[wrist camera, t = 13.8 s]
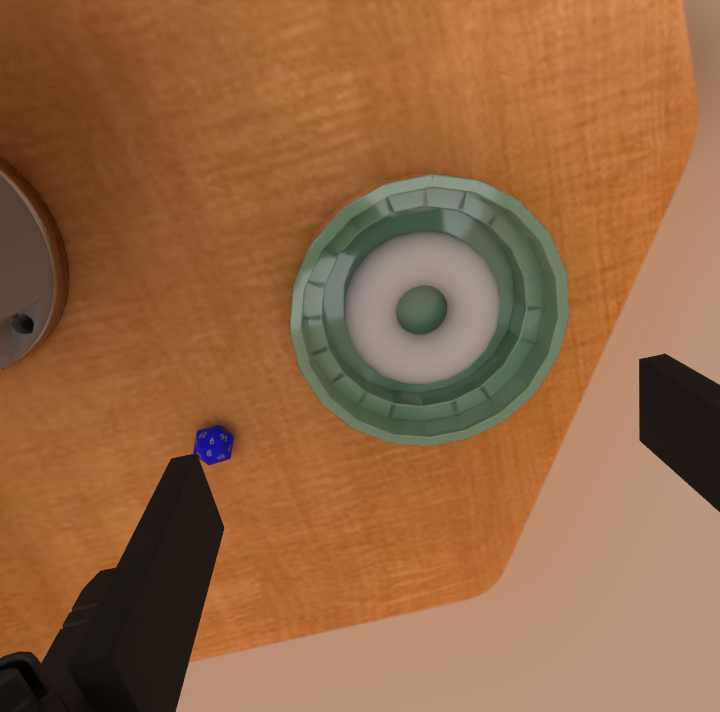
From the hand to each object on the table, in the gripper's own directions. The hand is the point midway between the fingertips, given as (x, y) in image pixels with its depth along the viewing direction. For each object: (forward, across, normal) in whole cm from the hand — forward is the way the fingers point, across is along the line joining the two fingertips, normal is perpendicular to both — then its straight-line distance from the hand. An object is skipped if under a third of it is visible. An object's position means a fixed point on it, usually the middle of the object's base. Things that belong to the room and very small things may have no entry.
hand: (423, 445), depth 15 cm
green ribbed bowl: (+21, +3, -2) cm, 21 cm away
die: (+21, -13, -9) cm, 26 cm away
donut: (+20, +3, -2) cm, 21 cm away
